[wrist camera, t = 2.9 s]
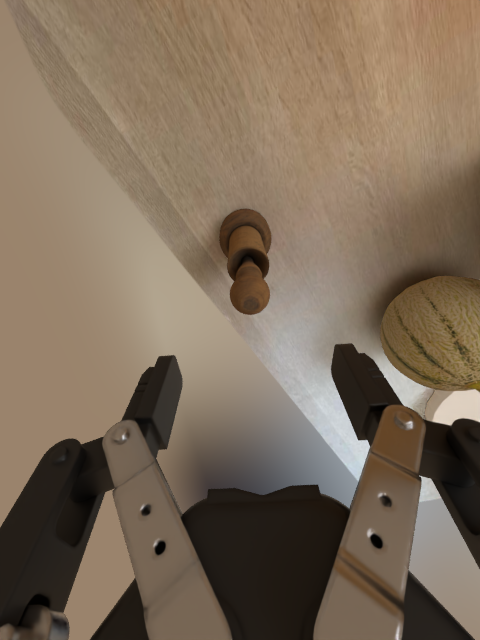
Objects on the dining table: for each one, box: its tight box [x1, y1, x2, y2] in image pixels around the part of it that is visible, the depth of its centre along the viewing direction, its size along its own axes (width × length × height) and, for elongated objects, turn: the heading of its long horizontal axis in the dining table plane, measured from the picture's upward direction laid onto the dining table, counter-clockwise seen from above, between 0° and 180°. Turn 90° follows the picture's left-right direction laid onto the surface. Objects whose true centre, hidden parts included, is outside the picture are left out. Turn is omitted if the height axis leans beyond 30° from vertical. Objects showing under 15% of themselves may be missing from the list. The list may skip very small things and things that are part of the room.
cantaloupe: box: [380, 276, 480, 392], centre depth 32 cm, size 15×15×15 cm
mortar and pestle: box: [219, 209, 271, 315], centre depth 25 cm, size 7×6×18 cm
